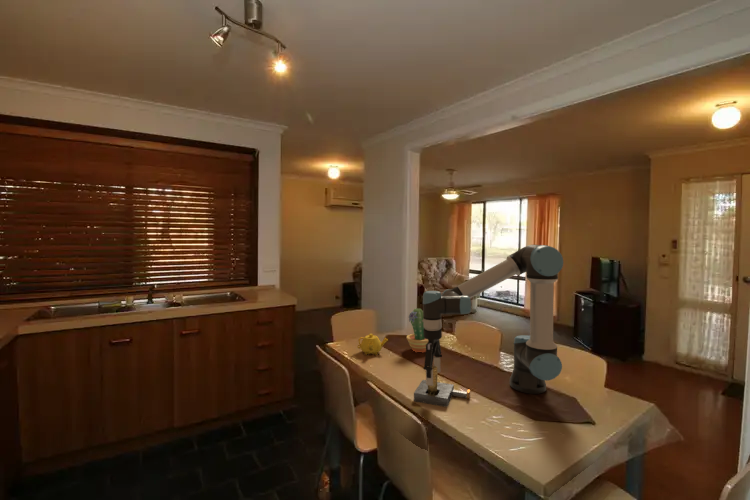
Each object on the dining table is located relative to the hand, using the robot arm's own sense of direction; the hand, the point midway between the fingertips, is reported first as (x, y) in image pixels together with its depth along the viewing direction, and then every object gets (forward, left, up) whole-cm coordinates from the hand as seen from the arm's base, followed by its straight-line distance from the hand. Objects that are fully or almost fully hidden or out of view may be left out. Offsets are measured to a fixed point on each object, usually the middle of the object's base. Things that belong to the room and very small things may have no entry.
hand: (433, 378), depth 146 cm
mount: (0, -3, -9) cm, 10 cm away
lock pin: (-7, -7, -9) cm, 14 cm away
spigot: (0, 0, -9) cm, 9 cm away
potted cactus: (+22, -58, -9) cm, 63 cm away
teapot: (+46, -43, -9) cm, 64 cm away
